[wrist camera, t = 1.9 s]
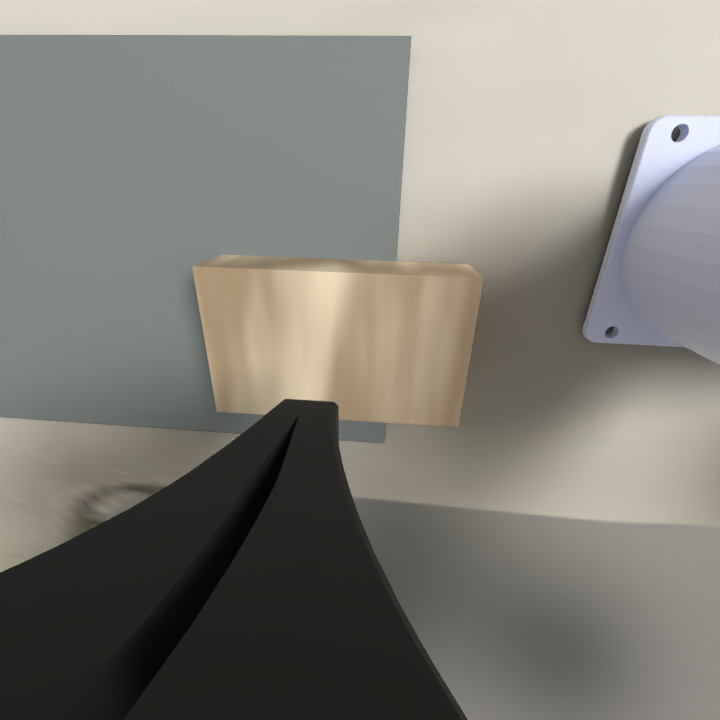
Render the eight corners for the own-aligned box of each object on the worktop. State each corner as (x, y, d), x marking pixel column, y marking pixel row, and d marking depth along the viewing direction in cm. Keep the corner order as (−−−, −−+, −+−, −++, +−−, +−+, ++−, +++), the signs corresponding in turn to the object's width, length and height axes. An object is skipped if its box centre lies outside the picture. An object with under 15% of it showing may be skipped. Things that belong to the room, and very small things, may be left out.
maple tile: (222, 254, 15) (469, 264, 14) (239, 382, 18) (449, 395, 17) (192, 266, 13) (484, 278, 12) (216, 411, 15) (458, 427, 15)
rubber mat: (410, 41, 12) (411, 35, 12) (384, 437, 19) (384, 443, 18) (-196, 39, 13) (-217, 34, 13) (-15, 410, 20) (-24, 415, 20)
